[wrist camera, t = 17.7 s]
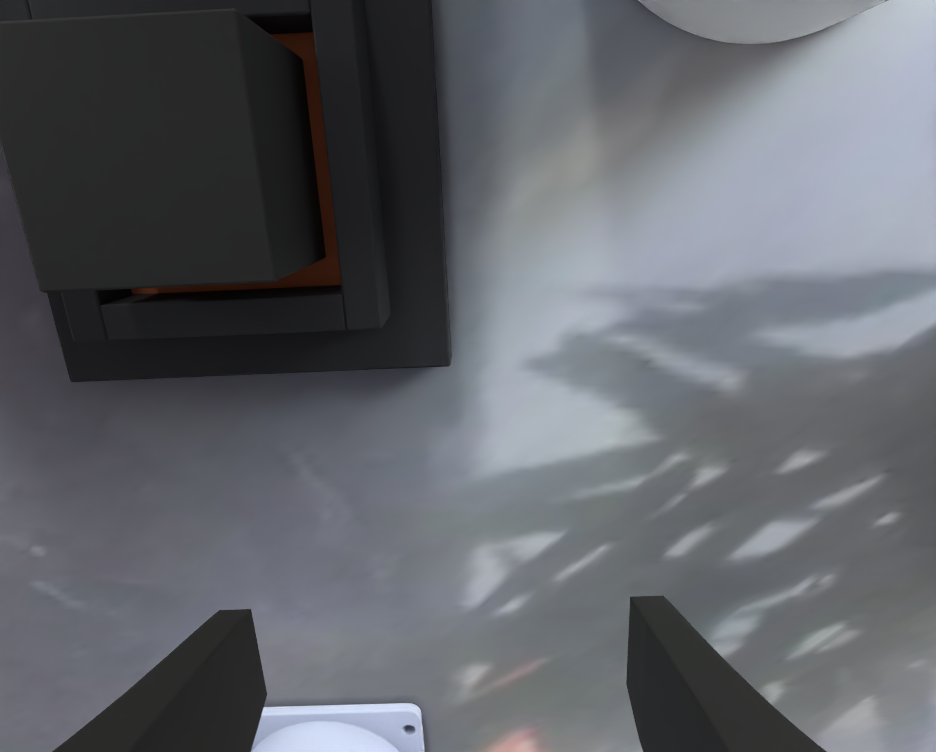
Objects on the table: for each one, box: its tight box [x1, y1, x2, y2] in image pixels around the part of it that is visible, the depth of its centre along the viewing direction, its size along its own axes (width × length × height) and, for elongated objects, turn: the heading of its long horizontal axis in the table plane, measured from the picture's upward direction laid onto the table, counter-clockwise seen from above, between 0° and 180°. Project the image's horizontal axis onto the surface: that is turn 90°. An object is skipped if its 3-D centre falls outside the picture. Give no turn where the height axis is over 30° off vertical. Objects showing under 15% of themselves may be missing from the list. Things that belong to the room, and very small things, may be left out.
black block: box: [0, 8, 326, 293], centre depth 14 cm, size 5×5×5 cm
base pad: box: [0, 0, 451, 382], centre depth 16 cm, size 12×12×3 cm
